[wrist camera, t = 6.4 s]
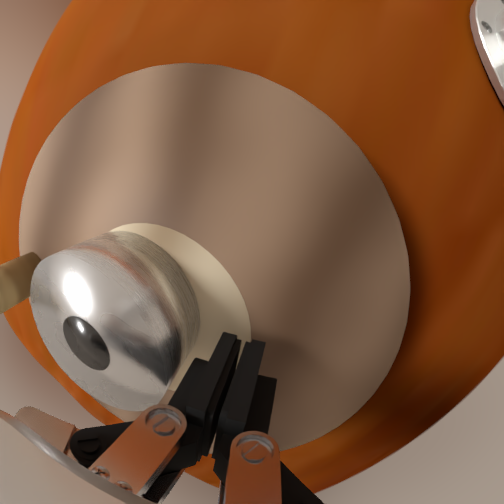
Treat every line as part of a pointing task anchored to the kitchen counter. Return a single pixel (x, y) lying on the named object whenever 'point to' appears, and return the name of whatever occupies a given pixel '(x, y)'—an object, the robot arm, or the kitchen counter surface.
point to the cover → (116, 317)
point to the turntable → (235, 227)
